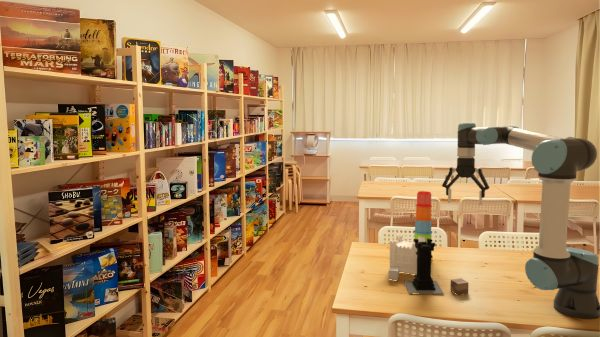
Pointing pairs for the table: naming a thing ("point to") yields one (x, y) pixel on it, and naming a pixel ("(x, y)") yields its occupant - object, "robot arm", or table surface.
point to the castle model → (404, 254)
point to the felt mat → (413, 290)
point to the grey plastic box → (394, 272)
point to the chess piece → (424, 265)
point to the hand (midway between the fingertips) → (464, 203)
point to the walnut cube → (459, 286)
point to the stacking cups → (423, 216)
